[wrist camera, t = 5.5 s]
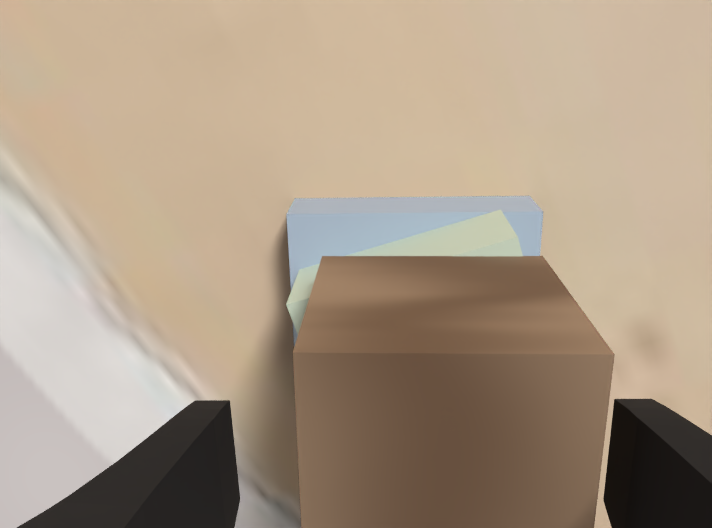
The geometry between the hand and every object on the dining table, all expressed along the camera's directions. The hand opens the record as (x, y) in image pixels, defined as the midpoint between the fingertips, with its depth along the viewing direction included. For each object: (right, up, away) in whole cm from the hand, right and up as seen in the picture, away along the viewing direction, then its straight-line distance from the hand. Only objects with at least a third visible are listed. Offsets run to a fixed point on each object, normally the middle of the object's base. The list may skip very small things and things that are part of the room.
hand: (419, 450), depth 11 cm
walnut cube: (+1, +1, +3) cm, 3 cm away
